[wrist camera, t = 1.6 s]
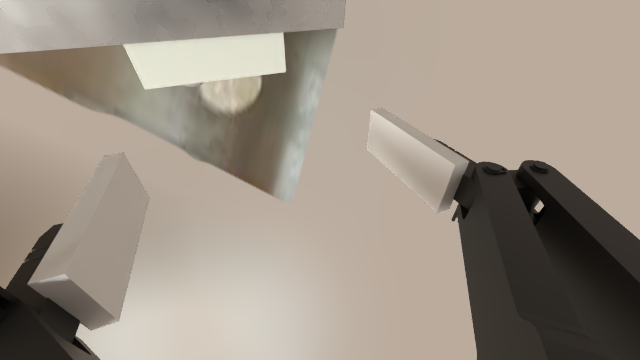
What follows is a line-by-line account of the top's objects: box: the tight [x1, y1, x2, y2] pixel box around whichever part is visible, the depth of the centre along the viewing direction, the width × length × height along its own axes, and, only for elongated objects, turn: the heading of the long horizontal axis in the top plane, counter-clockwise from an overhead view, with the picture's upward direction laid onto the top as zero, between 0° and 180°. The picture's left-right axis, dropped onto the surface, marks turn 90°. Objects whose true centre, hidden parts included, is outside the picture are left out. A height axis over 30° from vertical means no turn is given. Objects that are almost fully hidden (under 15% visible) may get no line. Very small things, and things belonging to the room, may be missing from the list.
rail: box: [0, 0, 346, 54], centre depth 16 cm, size 4×24×4 cm, turn 88°
